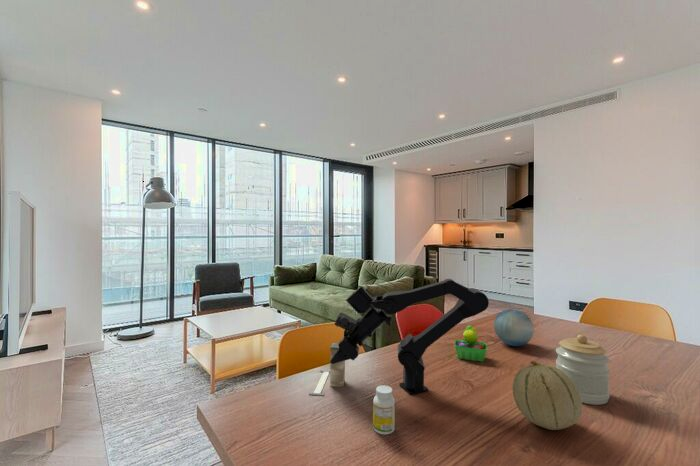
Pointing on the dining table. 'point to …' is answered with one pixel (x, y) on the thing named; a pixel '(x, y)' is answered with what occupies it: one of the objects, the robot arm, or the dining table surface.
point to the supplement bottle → (384, 410)
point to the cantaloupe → (547, 396)
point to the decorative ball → (513, 327)
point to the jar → (585, 368)
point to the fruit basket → (470, 346)
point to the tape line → (321, 383)
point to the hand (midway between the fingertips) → (333, 357)
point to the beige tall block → (336, 368)
